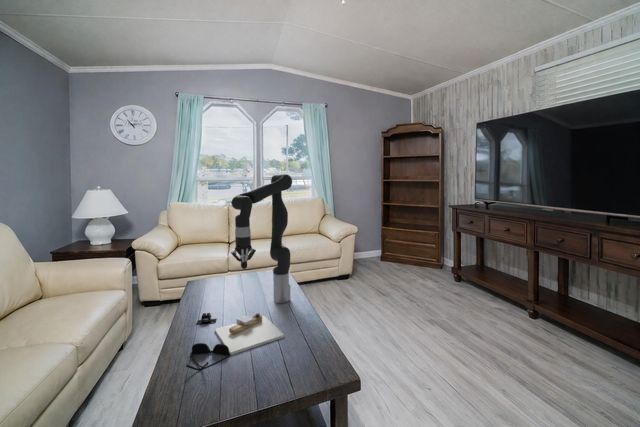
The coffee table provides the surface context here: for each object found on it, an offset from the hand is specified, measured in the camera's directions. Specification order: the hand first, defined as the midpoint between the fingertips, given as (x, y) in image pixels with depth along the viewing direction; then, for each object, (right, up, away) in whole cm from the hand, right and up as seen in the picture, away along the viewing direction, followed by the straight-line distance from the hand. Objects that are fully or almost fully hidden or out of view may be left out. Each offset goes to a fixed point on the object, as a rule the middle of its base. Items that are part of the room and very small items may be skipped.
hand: (244, 268), depth 153 cm
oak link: (+3, -26, -8) cm, 28 cm away
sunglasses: (-7, -32, -35) cm, 48 cm away
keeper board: (+5, -29, -13) cm, 32 cm away
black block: (-19, -28, 0) cm, 34 cm away
